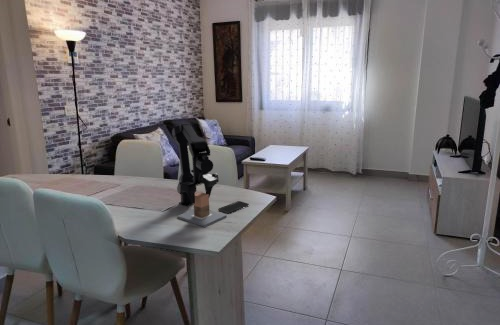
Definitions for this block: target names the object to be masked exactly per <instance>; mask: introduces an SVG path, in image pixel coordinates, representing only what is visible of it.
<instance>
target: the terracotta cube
mask: <svg viewBox="0 0 500 325" xmlns="http://www.w3.org/2000/svg"><path fill="white" fill-rule="evenodd" d="M207 205H209V206H210V197H209V194H206V192H198V193H195V204H193V207H194V206H197V207H201V208H202V207H204V206H207Z"/></svg>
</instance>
